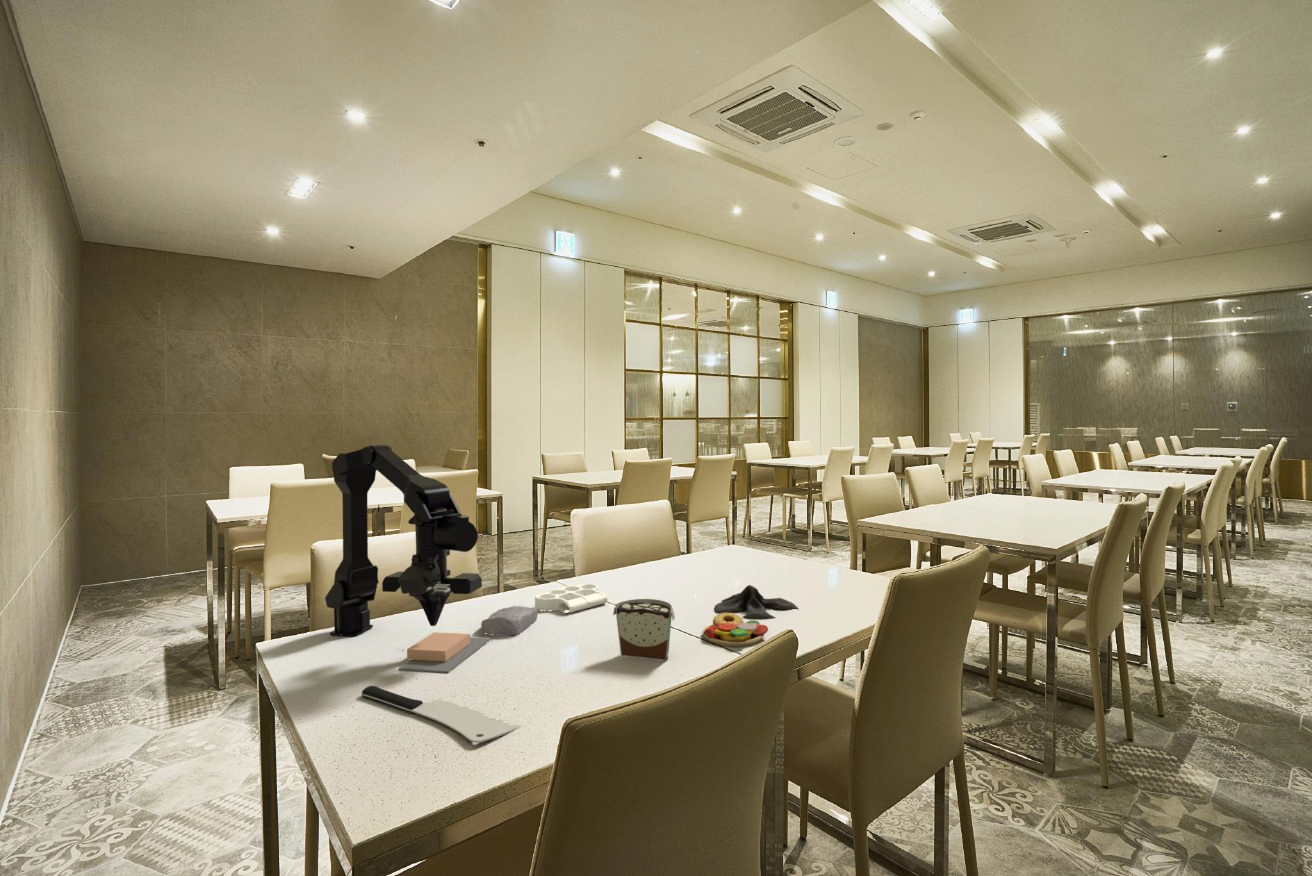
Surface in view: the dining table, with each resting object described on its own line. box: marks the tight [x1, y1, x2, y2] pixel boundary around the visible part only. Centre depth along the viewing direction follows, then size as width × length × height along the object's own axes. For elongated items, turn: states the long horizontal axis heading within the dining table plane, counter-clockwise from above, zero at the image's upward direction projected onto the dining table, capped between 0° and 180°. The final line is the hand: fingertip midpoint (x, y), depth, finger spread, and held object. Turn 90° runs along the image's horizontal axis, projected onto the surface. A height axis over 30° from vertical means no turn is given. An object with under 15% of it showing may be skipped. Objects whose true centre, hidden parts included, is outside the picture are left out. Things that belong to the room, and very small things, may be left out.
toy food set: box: [702, 613, 769, 647], centre depth 135 cm, size 13×13×3 cm
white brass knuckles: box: [534, 583, 608, 615], centre depth 161 cm, size 3×18×15 cm
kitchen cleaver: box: [361, 685, 521, 744], centre depth 102 cm, size 31×2×10 cm
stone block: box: [480, 605, 538, 636], centre depth 144 cm, size 12×5×10 cm
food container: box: [612, 598, 676, 662], centre depth 126 cm, size 12×6×10 cm, turn 71°
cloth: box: [714, 584, 799, 620], centre depth 156 cm, size 22×19×6 cm
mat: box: [398, 636, 492, 674], centre depth 127 cm, size 10×18×1 cm, turn 169°
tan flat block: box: [406, 631, 471, 662], centre depth 128 cm, size 2×10×8 cm
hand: (433, 625), depth 128 cm, fingers closed
